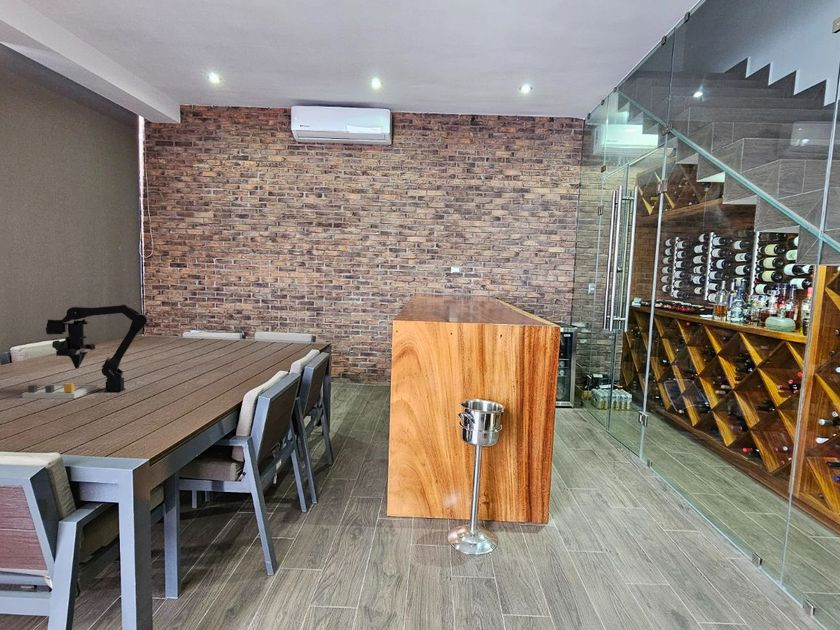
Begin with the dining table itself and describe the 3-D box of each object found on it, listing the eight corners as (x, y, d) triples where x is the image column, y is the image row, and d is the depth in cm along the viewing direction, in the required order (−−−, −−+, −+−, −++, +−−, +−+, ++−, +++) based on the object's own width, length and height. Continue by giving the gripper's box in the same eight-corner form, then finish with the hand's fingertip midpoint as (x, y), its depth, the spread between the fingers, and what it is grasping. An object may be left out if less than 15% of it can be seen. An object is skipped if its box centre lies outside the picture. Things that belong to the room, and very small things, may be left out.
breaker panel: (97, 388, 218) (97, 378, 218) (74, 398, 202) (74, 387, 201) (49, 388, 216) (49, 377, 216) (22, 397, 199) (22, 386, 199)
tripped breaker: (74, 391, 205) (74, 383, 204) (71, 392, 203) (71, 384, 202) (67, 390, 204) (66, 383, 204) (64, 392, 202) (63, 384, 202)
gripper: (70, 331, 215) (70, 363, 217) (42, 336, 197) (43, 372, 198) (95, 331, 217) (96, 364, 218) (70, 337, 198) (71, 372, 199)
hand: (76, 368), depth 208 cm, fingers closed
